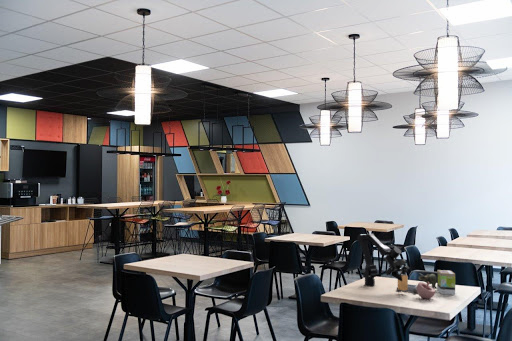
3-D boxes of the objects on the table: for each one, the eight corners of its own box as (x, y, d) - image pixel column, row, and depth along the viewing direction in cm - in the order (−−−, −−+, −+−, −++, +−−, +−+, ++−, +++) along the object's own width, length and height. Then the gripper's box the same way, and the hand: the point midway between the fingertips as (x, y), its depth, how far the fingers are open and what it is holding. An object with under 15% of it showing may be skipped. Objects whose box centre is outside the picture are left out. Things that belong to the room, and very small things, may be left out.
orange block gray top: (397, 289, 334) (397, 274, 334) (402, 288, 336) (402, 273, 337) (403, 290, 330) (403, 275, 330) (407, 289, 332) (407, 274, 332)
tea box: (455, 295, 330) (455, 273, 331) (440, 294, 332) (440, 273, 333) (451, 290, 345) (451, 269, 346) (436, 289, 347) (436, 269, 348)
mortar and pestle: (433, 301, 311) (433, 284, 311) (414, 299, 317) (414, 281, 318) (437, 298, 321) (437, 281, 321) (419, 295, 327) (418, 279, 328)
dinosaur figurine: (436, 284, 365) (436, 270, 365) (446, 286, 357) (445, 271, 358) (417, 288, 353) (417, 272, 353) (427, 290, 346) (427, 274, 346)
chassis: (395, 290, 343) (395, 285, 343) (403, 287, 355) (403, 282, 355) (418, 293, 333) (418, 288, 333) (424, 290, 345) (424, 285, 345)
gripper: (388, 256, 333) (400, 274, 323) (407, 254, 342) (419, 272, 332) (380, 265, 339) (392, 284, 329) (399, 263, 348) (411, 281, 338)
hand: (404, 280), depth 332 cm, fingers closed on orange block gray top, 4 cm apart
